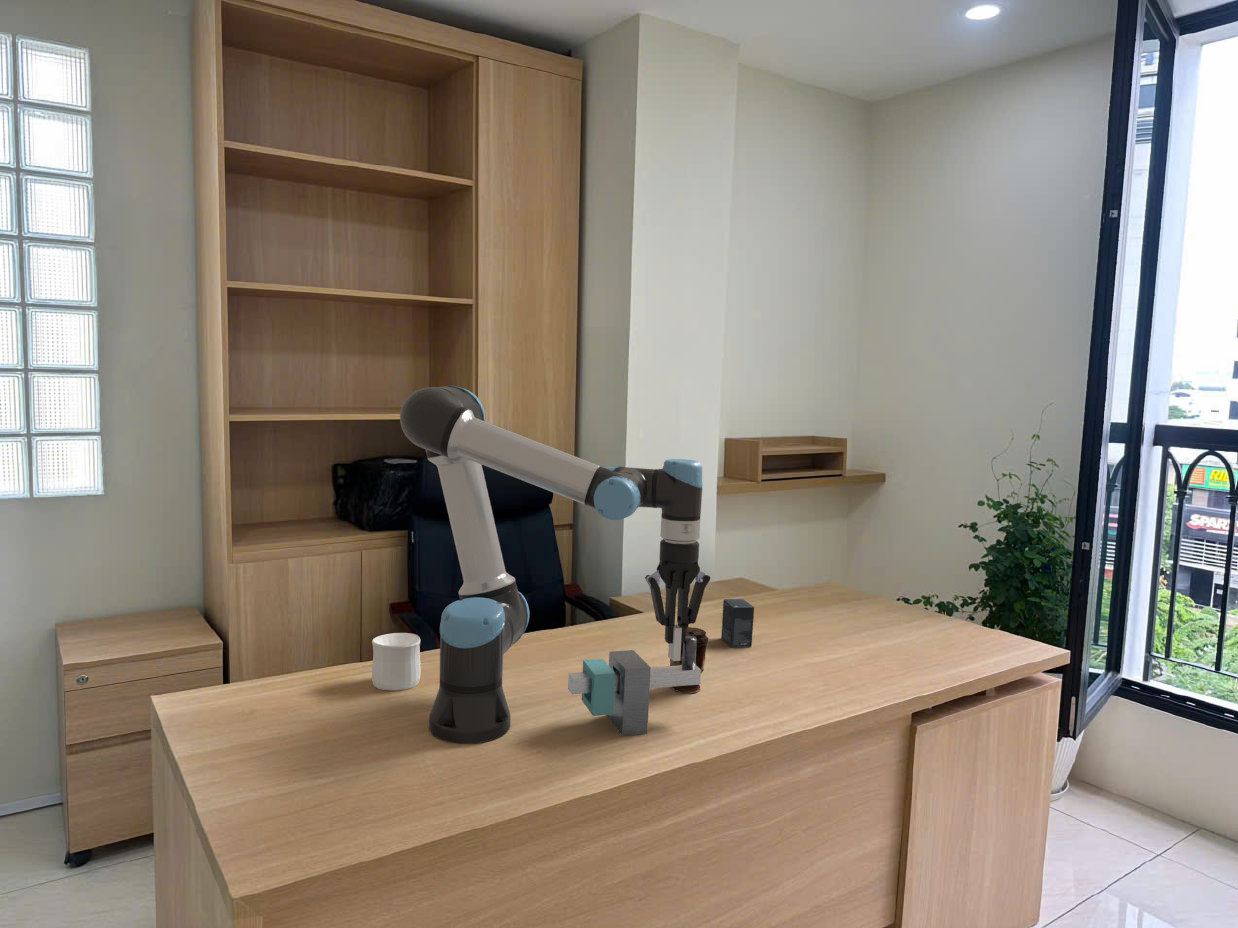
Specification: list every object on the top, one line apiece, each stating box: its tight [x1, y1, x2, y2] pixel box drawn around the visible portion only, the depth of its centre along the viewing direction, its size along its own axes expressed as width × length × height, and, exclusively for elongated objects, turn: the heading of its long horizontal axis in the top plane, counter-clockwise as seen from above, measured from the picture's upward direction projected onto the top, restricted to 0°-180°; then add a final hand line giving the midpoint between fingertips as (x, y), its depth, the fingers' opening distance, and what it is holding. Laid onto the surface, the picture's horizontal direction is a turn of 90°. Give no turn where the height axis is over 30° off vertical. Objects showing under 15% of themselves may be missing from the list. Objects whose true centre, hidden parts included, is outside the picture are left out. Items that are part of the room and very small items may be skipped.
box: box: [720, 598, 755, 648], centre depth 218 cm, size 8×6×11 cm
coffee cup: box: [669, 626, 709, 694], centre depth 185 cm, size 9×8×13 cm
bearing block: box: [606, 649, 652, 737], centre depth 165 cm, size 5×10×13 cm, turn 18°
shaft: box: [567, 636, 702, 695], centre depth 165 cm, size 26×3×9 cm, turn 108°
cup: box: [371, 632, 422, 692], centre depth 181 cm, size 10×10×10 cm
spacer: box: [581, 658, 615, 717], centre depth 163 cm, size 4×8×8 cm, turn 18°
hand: (674, 658), depth 167 cm, fingers closed
